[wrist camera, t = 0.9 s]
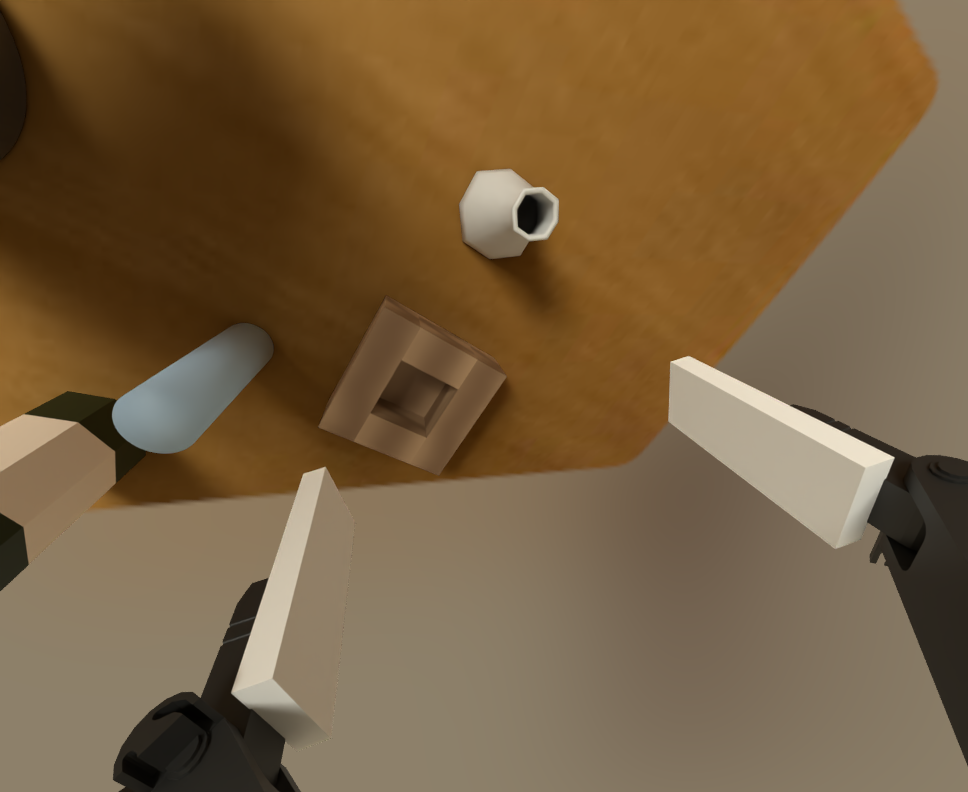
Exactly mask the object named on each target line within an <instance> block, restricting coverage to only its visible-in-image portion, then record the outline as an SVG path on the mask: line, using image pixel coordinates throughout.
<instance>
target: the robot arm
mask: <svg viewBox="0 0 968 792" xmlns="http://www.w3.org/2000/svg"><path fill="white" fill-rule="evenodd" d="M25 112H26V85H25V78H24V72H23V68H22V64H21V60H20V57H19V54H18V51H17V47H16V45H15V42H14V40H13V37H12V35H11V33H10V30H9V28H8V26H7V24H6V22H5V20H4V18H3V16H2V14H1V12H0V160H1V159H2V158H3V157H4V156H5V155H6V154H7V153H8V152H9V151H10V150H11V148H12V147H13V145H14V144H15V142H16V140H17V139H18V137H19V134H20V132H21V130H22V126H23V123H24V118H25ZM668 422H670V423H671V424H672V425H674V426H675V427H676V428H678V429H679V430H680V431H682V432H683V433H684V434H685V435H687V436H688V437H689V438H691V439H692V440H693V441H695V442H696V443H697V444H699V445H700V446H701V447H702V448H704V449H705V450H706V451H708V452H709V453H710V454H712V455H713V456H714V457H716V458H717V459H718V460H720V461H721V462H722V463H724V464H725V465H726V466H727V467H729V468H730V469H731V470H733V471H734V472H735V473H736V474H738V475H739V476H740V477H742V478H743V479H744V480H746V481H747V482H748V483H750V484H751V485H752V486H754V487H755V488H756V489H757V490H759V491H760V492H761V493H763V494H764V495H765V496H767V497H768V498H769V499H771V500H772V501H773V502H774V503H776V504H777V505H778V506H780V507H781V508H782V509H784V510H785V511H786V512H788V513H789V514H790V515H792V516H793V517H794V518H795V519H797V520H798V521H799V522H801V523H802V524H803V525H805V526H806V527H807V528H809V529H810V530H811V531H812V532H814V533H815V534H816V535H818V536H819V537H820V538H822V539H823V540H824V541H826V542H827V543H828V544H829V545H831V546H832V547H834V548H835V549H836V548H839V547H842V546H845V545H847V544H850V543H852V542H855V541H858V540H861V538H862V535H863V533H864V530H865V528H866V525H867V523H870V524H871V525H872V526H874V527H875V528H877V529H878V530H880V534H879V536H878V538H877V540H876V542H875V545H874V547H873V549H872V551H871V554H870V562H871V563H876V562H877V560H878V558H879V556H880V554H881V553H883V555H884V557H885V560H886V562H885V564H884V565H885V566H888V567H889V570H890V572H891V575H892V577H893V580H894V582H895V585H896V587H897V590H898V593H899V595H900V597H901V600H902V603H903V605H904V608H905V610H906V613H907V615H908V618H909V620H910V622H911V625H912V627H913V630H914V633H915V635H916V638H917V640H918V643H919V645H920V648H921V650H922V652H923V655H924V658H925V660H926V663H927V665H928V667H929V670H930V673H931V675H932V678H933V680H934V683H935V685H936V688H937V690H938V692H939V695H940V698H941V700H942V703H943V705H944V708H945V710H946V713H947V715H948V718H949V720H950V723H951V725H952V728H953V730H954V733H955V735H956V738H957V740H958V743H959V745H960V748H961V750H962V753H963V755H964V758H965V760H966V763H967V765H968V462H967V461H964V460H961V459H958V458H953V457H947V456H941V455H926V456H921V457H917V458H916V457H913V456H911V455H909V454H907V453H905V452H903V451H901V450H898V449H897V448H894V447H892V446H890V445H888V444H886V443H884V442H882V441H880V440H877V439H875V438H873V437H871V436H869V435H867V434H865V433H863V432H861V431H858V430H856V429H851V428H850V427H849V426H848V425H846V424H843V423H842V422H839V421H835V420H834V419H833V418H831V417H829V416H827V415H824V414H822V413H820V412H818V411H816V410H813V409H809V408H805V407H801V406H798V405H790V406H789V405H787V404H785V403H783V402H781V401H779V400H777V399H775V398H773V397H771V396H769V395H767V394H765V393H763V392H761V391H758V390H757V389H755V388H752V387H750V386H748V385H746V384H744V383H742V382H740V381H738V380H736V379H734V378H732V377H730V376H728V375H726V374H724V373H722V372H720V371H718V370H716V369H714V368H712V367H710V366H708V365H706V364H704V363H702V362H700V361H698V360H696V359H694V358H692V357H690V356H688V357H684V358H681V359H678V360H675V361H671V364H670V392H669V419H668ZM354 530H355V521H354V519H353V517H352V515H351V513H350V511H349V509H348V508H347V506H346V504H345V502H344V500H343V498H342V496H341V495H340V493H339V491H338V489H337V487H336V485H335V483H334V481H333V480H332V478H331V476H330V474H329V472H328V470H327V468H326V467H324V468H320V469H317V470H314V471H311V472H307V473H304V474H303V476H302V479H301V482H300V486H299V489H298V492H297V495H296V498H295V501H294V504H293V507H292V510H291V513H290V516H289V519H288V522H287V525H286V528H285V531H284V534H283V537H282V540H281V543H280V546H279V549H278V552H277V555H276V558H275V561H274V564H273V567H272V571H271V573H270V576H269V578H267V579H264V580H261V581H258V582H255V583H252V584H251V585H250V587H249V588H248V590H247V591H246V592H245V594H244V595H243V596H242V598H241V599H240V601H239V602H238V604H237V606H236V608H235V611H234V614H233V616H232V619H231V621H230V628H228V629H227V631H226V635H225V637H224V639H223V645H222V646H221V647H220V650H219V652H218V655H217V657H216V660H215V662H214V665H213V668H212V670H211V673H210V676H209V678H208V680H207V683H206V686H205V688H204V691H203V693H202V696H201V698H200V697H198V696H197V695H196V694H195V693H193V692H181V693H179V694H176V695H174V696H172V697H170V698H168V699H166V700H164V701H163V702H162V703H160V704H159V705H158V706H156V707H155V708H154V709H152V710H151V711H150V712H149V713H148V714H147V715H146V716H145V717H144V718H143V719H142V720H141V721H140V723H139V724H138V725H137V726H136V727H135V728H134V729H133V731H132V732H131V734H130V735H129V737H128V738H127V740H126V741H125V743H124V744H123V745H122V747H121V749H120V752H119V754H118V757H117V759H116V761H115V764H114V774H113V780H114V781H116V782H118V783H120V784H122V785H124V786H125V788H124V789H122V790H121V791H119V792H301V791H300V790H299V788H298V787H297V785H296V783H295V782H294V780H293V778H292V777H291V775H290V774H289V772H288V770H287V769H286V767H284V766H283V765H282V764H281V759H282V754H283V749H284V744H285V741H286V742H287V743H288V744H289V745H290V746H291V747H292V748H294V749H295V750H296V751H299V750H302V749H305V748H307V747H310V746H312V745H315V744H318V743H321V742H323V741H326V740H329V739H331V734H332V725H333V717H334V707H335V698H336V689H337V681H338V671H339V663H340V654H341V646H342V637H343V628H344V619H345V609H346V600H347V592H348V583H349V574H350V565H351V557H352V547H353V538H354Z"/></svg>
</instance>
